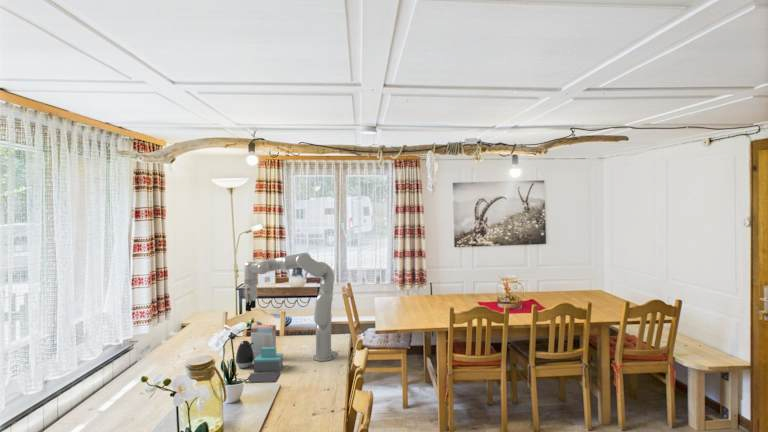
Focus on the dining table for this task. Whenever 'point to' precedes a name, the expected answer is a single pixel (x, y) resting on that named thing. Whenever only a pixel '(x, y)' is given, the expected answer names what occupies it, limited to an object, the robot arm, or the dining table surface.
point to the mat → (263, 377)
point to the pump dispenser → (244, 355)
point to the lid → (268, 355)
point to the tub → (268, 366)
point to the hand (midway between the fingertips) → (250, 309)
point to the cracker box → (262, 337)
